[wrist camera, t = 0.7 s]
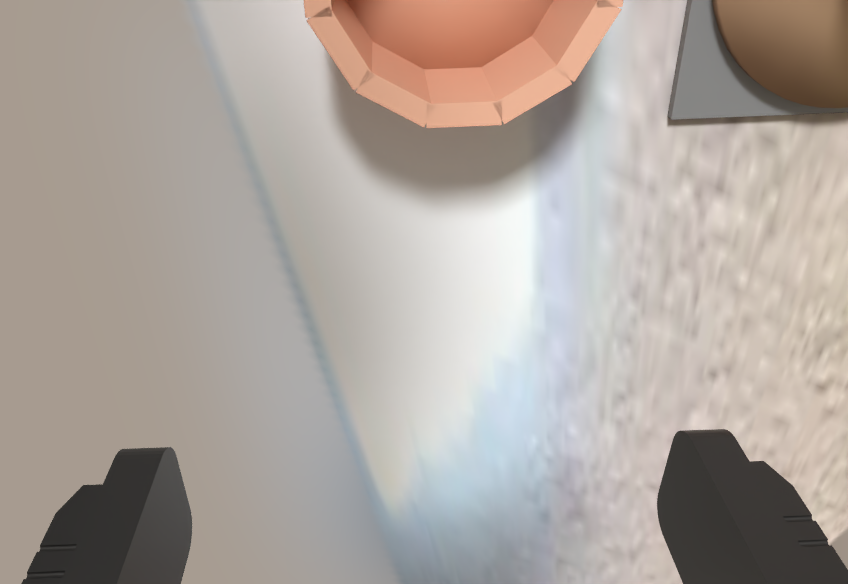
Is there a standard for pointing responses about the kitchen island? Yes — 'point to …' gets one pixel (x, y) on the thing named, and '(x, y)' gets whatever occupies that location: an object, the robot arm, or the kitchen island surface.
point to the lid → (790, 46)
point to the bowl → (460, 53)
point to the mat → (720, 77)
